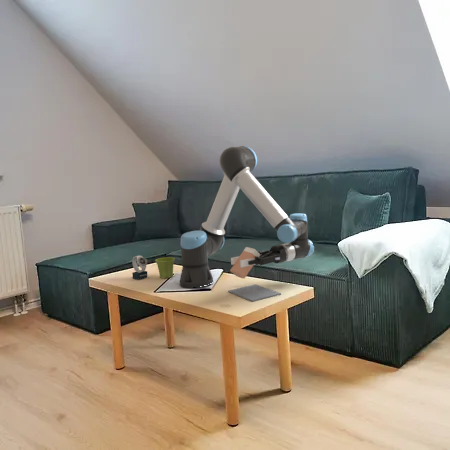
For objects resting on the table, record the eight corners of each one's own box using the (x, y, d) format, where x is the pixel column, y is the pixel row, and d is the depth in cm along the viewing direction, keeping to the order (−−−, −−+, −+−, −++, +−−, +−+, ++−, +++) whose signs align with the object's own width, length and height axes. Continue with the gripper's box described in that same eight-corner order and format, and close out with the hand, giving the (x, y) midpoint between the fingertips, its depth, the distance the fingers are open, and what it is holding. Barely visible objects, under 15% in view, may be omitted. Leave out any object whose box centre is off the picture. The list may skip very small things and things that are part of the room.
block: (229, 270, 203) (246, 246, 206) (236, 276, 205) (252, 252, 208) (238, 273, 198) (254, 248, 201) (244, 278, 200) (260, 254, 203)
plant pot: (152, 277, 243) (151, 260, 241) (168, 273, 249) (166, 256, 248) (164, 280, 236) (163, 262, 235) (180, 276, 243) (178, 258, 241)
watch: (141, 280, 238) (139, 258, 237) (130, 278, 244) (128, 256, 242) (150, 277, 242) (148, 255, 241) (139, 275, 248) (137, 254, 246)
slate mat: (228, 291, 211) (228, 290, 211) (255, 285, 218) (255, 284, 218) (252, 301, 196) (252, 300, 196) (281, 294, 203) (281, 293, 203)
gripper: (296, 265, 205) (250, 276, 193) (268, 258, 221) (224, 267, 209) (295, 247, 204) (248, 257, 192) (268, 241, 220) (223, 250, 208)
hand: (236, 262), depth 201 cm, fingers closed on block, 6 cm apart
